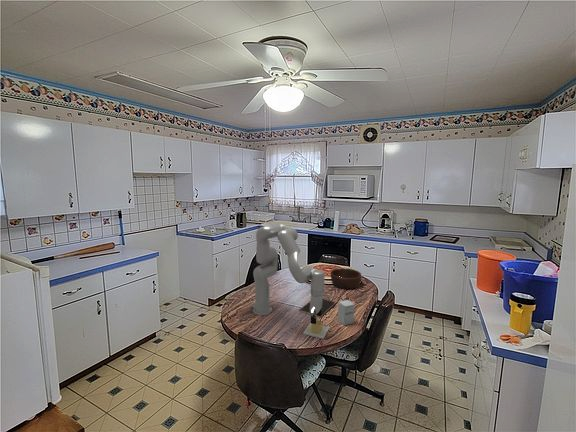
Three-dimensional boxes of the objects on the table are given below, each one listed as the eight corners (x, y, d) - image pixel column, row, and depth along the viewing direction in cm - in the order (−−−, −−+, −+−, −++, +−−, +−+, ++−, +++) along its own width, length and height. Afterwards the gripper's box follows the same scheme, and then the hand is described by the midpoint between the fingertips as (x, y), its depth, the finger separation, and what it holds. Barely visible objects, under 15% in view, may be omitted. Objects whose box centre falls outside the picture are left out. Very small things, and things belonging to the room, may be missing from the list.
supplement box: (344, 325, 174) (344, 306, 172) (337, 320, 180) (337, 301, 179) (354, 323, 177) (354, 304, 175) (347, 318, 183) (347, 299, 182)
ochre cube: (311, 331, 166) (311, 323, 165) (313, 327, 171) (314, 319, 170) (319, 333, 164) (319, 325, 163) (321, 329, 169) (322, 321, 168)
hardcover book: (335, 305, 203) (335, 302, 202) (320, 318, 183) (320, 315, 183) (314, 299, 211) (314, 296, 211) (299, 312, 192) (299, 309, 191)
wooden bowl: (327, 280, 250) (327, 268, 248) (354, 279, 252) (355, 267, 251) (334, 291, 225) (335, 279, 223) (365, 290, 228) (366, 278, 226)
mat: (303, 334, 164) (303, 332, 164) (310, 324, 175) (310, 322, 175) (323, 339, 160) (323, 337, 159) (329, 328, 170) (329, 327, 170)
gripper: (315, 285, 173) (314, 311, 176) (305, 296, 158) (304, 325, 160) (327, 287, 170) (326, 314, 173) (318, 299, 155) (317, 328, 157)
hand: (316, 319), depth 167 cm, fingers open, 9 cm apart
